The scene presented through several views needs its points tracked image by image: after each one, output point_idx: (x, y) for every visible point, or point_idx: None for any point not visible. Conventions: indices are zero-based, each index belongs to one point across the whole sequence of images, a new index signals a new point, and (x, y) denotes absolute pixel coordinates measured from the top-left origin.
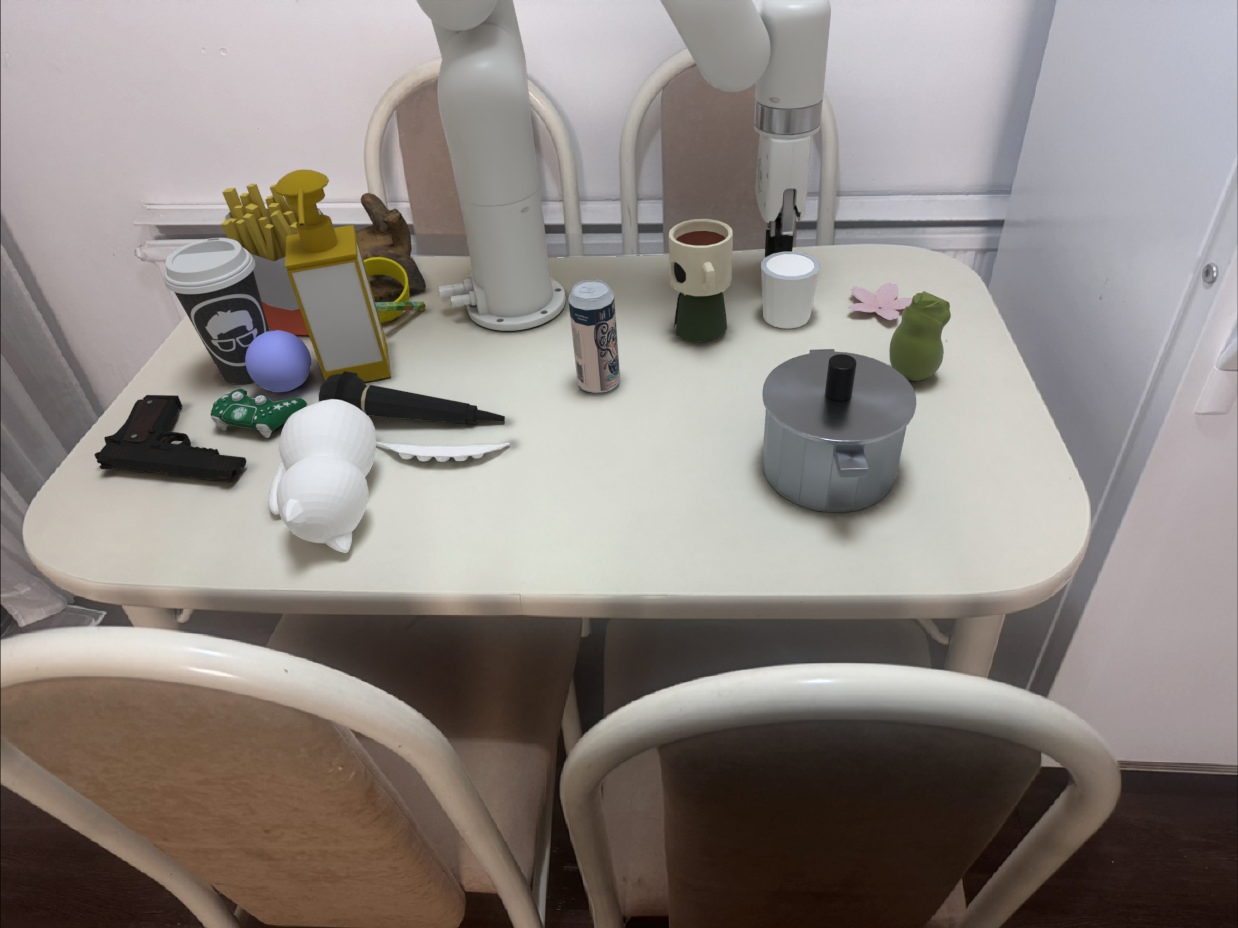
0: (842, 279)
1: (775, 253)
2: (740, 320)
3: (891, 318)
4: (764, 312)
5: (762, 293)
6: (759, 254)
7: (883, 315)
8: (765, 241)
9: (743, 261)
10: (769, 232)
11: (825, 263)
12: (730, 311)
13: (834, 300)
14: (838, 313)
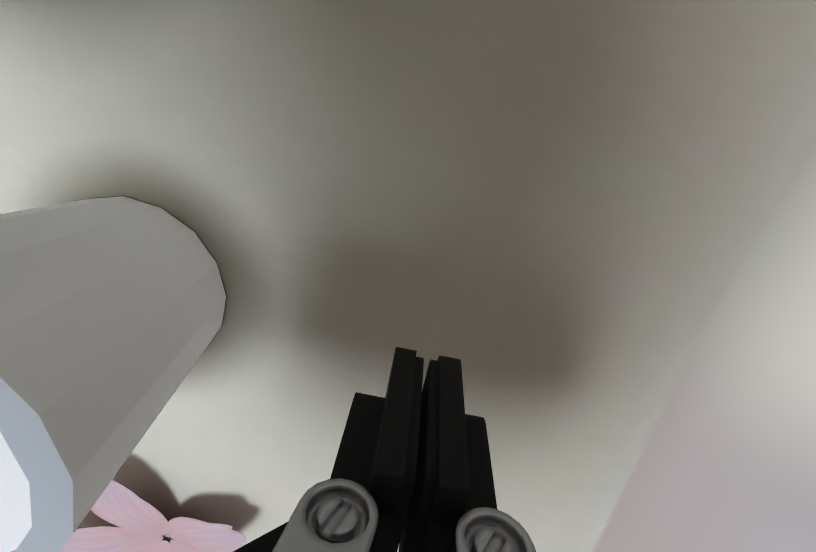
0: None
1: (38, 429)
2: (112, 90)
3: None
4: (79, 202)
5: (7, 218)
6: (657, 351)
7: (72, 536)
8: (460, 421)
9: (632, 270)
10: (431, 493)
11: None
12: (194, 65)
13: (232, 456)
14: (151, 438)
